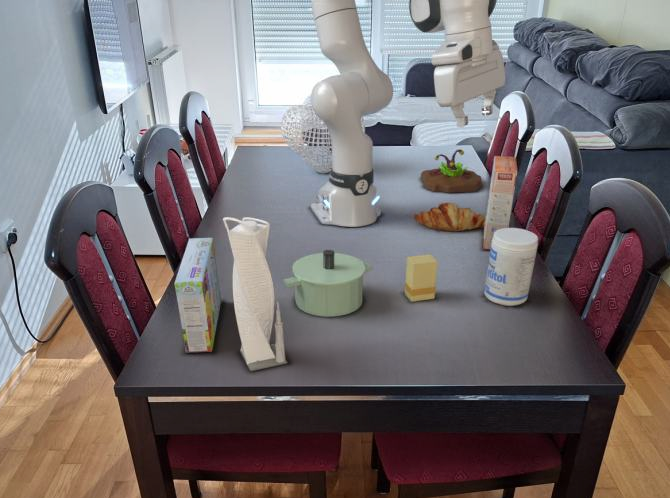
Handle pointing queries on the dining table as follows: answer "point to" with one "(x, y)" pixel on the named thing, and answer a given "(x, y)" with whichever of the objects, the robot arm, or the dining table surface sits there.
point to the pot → (328, 296)
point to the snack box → (198, 295)
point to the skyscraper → (254, 295)
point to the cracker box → (500, 197)
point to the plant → (451, 177)
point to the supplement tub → (510, 266)
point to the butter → (421, 277)
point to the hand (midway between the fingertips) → (475, 120)
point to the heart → (293, 144)
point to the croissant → (450, 218)
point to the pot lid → (328, 268)
